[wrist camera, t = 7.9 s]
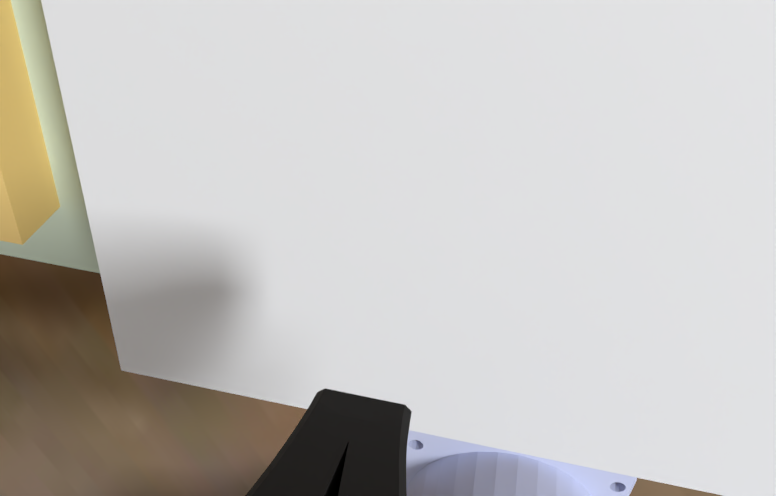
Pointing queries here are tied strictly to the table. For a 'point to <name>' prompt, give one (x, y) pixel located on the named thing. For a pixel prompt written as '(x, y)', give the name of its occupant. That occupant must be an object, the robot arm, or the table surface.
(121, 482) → the table surface
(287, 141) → the white box
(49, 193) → the yellow rectangular block
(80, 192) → the mat
